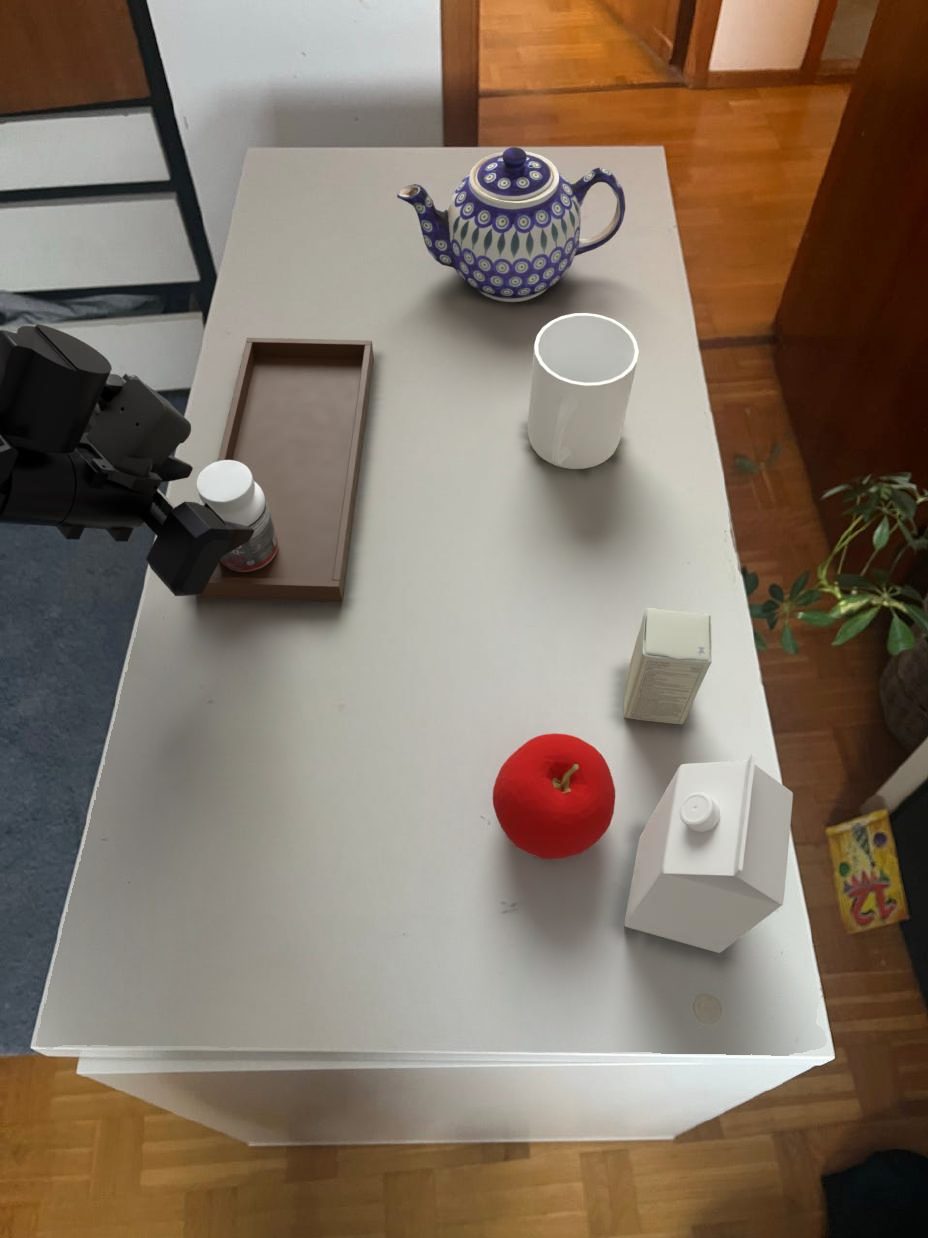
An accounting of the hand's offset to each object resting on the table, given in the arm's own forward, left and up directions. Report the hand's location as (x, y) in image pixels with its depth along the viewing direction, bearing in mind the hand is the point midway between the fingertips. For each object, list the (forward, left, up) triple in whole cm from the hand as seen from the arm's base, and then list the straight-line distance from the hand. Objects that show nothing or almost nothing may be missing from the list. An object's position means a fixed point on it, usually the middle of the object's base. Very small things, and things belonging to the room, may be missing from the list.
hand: (220, 502), depth 75 cm
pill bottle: (+1, 0, -8) cm, 8 cm away
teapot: (+43, +22, -9) cm, 49 cm away
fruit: (+11, -35, -9) cm, 38 cm away
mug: (+34, -4, -9) cm, 36 cm away
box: (+24, -31, -9) cm, 41 cm away
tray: (+9, +8, -8) cm, 14 cm away
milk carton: (+16, -45, -9) cm, 49 cm away
